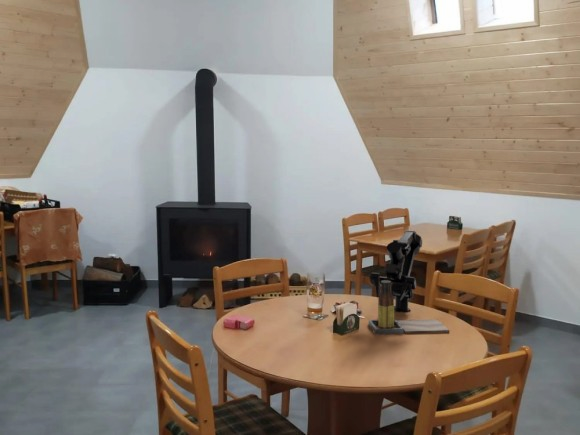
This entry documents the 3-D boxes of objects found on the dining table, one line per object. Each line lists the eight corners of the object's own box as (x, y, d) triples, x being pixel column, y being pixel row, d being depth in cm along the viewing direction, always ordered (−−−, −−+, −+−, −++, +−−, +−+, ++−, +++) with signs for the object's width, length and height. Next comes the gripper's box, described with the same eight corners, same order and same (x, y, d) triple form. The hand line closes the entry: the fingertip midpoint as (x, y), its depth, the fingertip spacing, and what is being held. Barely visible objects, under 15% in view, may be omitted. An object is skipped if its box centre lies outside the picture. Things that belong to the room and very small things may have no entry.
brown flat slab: (395, 322, 213) (395, 320, 213) (436, 321, 215) (437, 319, 215) (405, 333, 200) (405, 331, 200) (449, 332, 202) (449, 330, 202)
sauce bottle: (393, 326, 208) (394, 279, 205) (394, 332, 202) (396, 283, 199) (376, 326, 209) (378, 278, 206) (377, 331, 203) (379, 282, 200)
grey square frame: (368, 324, 210) (368, 319, 210) (395, 323, 211) (395, 319, 211) (375, 334, 199) (375, 329, 199) (403, 333, 200) (403, 328, 200)
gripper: (371, 253, 213) (362, 285, 205) (416, 258, 205) (409, 291, 197) (375, 268, 221) (367, 299, 213) (418, 273, 214) (412, 305, 205)
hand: (388, 298), depth 207 cm, fingers open, 9 cm apart
